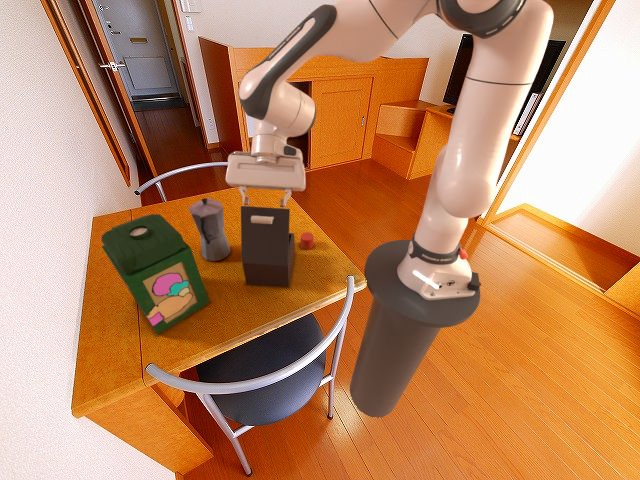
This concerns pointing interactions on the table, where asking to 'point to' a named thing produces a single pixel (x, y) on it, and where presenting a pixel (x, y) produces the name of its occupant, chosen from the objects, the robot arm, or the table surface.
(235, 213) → the table surface
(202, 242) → the moka pot
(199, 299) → the container
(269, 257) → the lid
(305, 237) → the coffee capsule
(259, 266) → the dark carry box
